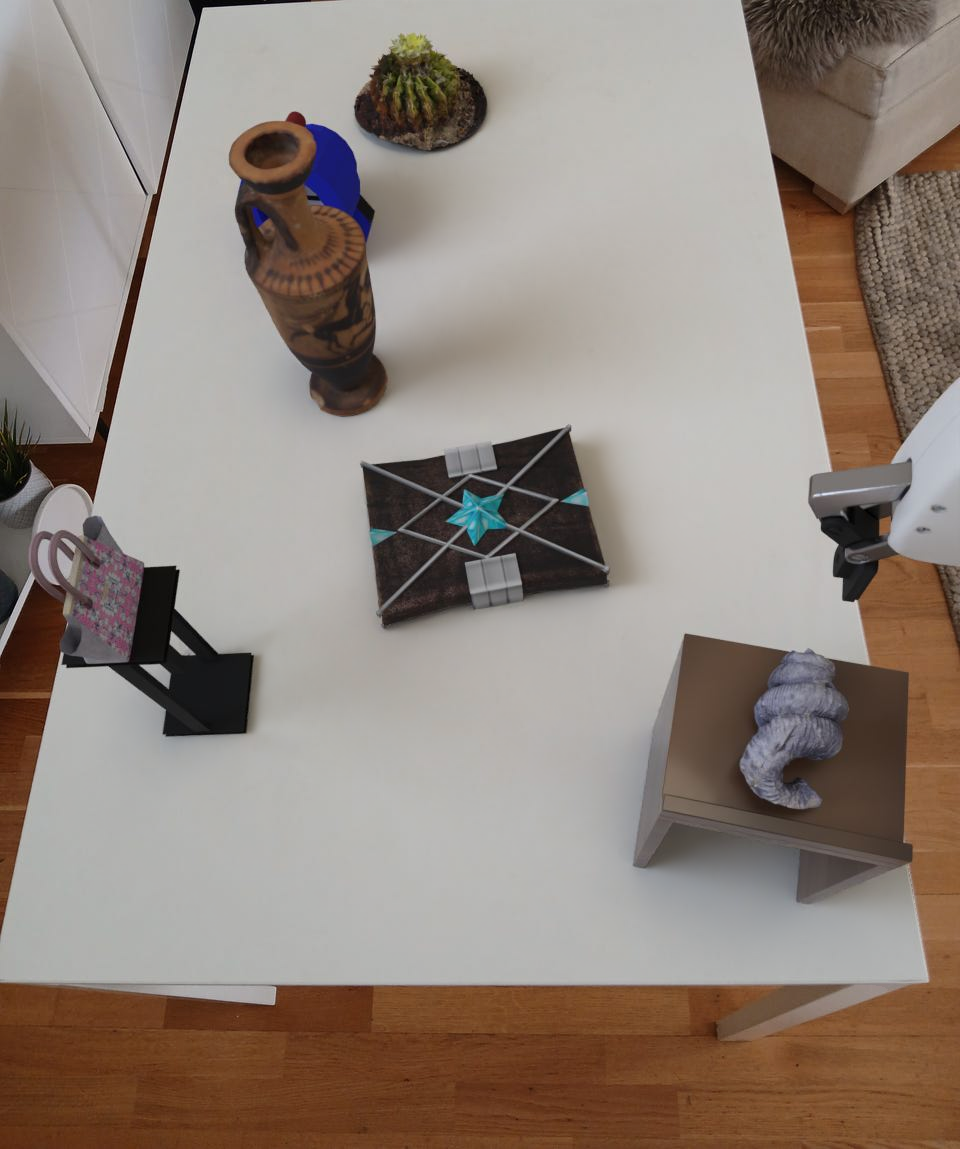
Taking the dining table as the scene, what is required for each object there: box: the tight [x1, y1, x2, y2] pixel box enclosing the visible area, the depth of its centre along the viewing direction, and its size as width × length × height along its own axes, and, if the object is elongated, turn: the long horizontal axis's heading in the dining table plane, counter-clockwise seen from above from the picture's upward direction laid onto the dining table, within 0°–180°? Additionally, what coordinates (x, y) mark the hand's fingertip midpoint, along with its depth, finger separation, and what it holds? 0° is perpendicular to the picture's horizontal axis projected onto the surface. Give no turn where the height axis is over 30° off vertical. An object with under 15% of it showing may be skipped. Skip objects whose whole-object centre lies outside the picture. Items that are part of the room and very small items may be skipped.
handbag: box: [28, 515, 255, 738], centre depth 70 cm, size 10×8×30 cm
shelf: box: [632, 633, 914, 905], centre depth 65 cm, size 14×12×24 cm
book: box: [359, 423, 611, 630], centre depth 87 cm, size 22×17×5 cm
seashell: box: [739, 647, 849, 809], centre depth 54 cm, size 5×5×10 cm
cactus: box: [353, 32, 488, 151], centre depth 111 cm, size 17×16×10 cm
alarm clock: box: [237, 111, 376, 243], centre depth 101 cm, size 12×12×15 cm
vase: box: [228, 120, 388, 417], centre depth 84 cm, size 11×11×30 cm
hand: (947, 589), depth 47 cm, fingers open, 9 cm apart
